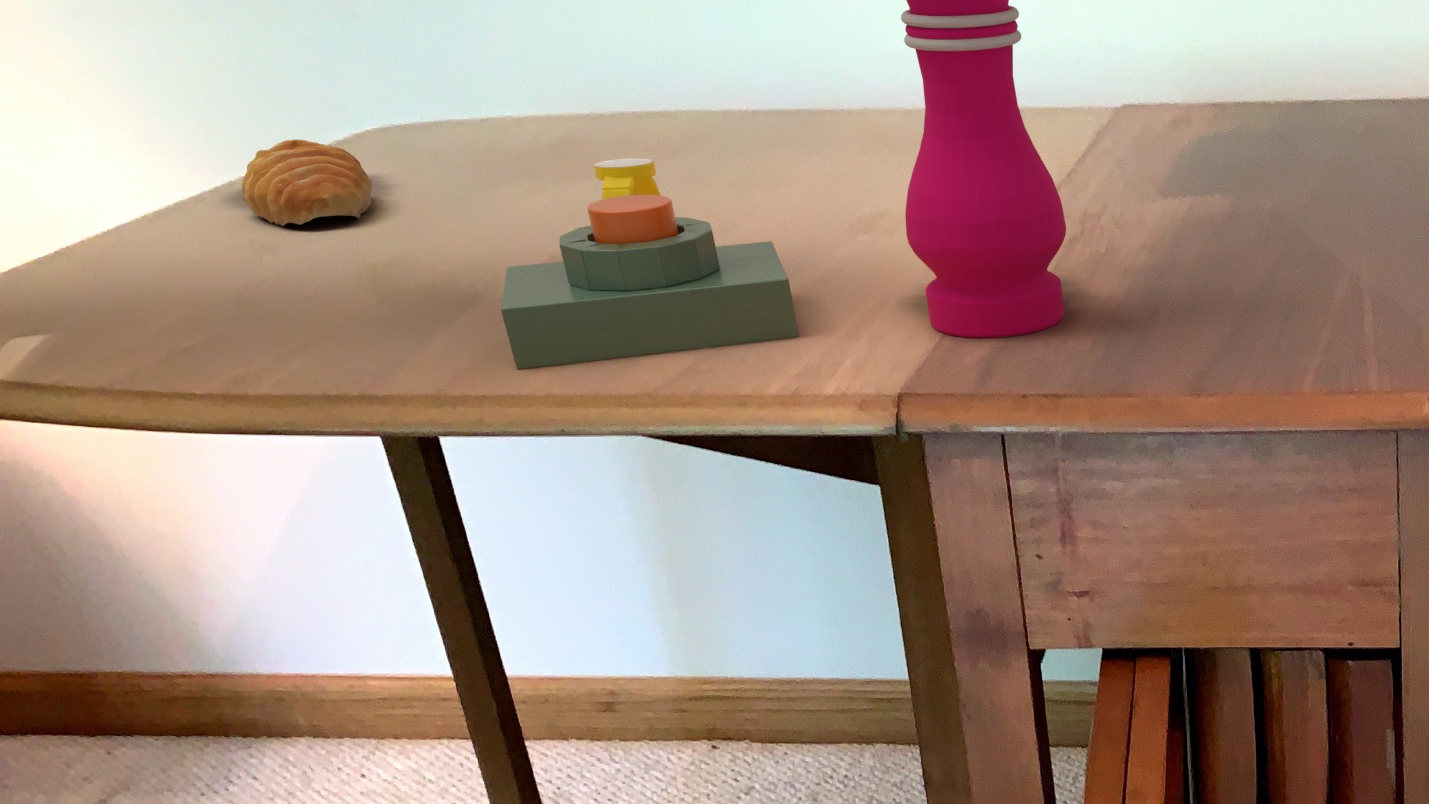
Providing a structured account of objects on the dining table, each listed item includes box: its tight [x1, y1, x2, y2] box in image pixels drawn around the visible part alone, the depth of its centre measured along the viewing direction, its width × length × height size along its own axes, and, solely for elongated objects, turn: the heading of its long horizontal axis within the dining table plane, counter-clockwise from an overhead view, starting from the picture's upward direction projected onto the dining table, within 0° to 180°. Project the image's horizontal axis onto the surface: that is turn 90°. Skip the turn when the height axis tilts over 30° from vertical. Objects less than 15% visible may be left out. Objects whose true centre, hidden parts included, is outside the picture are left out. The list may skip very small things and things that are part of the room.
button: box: [586, 195, 679, 244], centre depth 77 cm, size 4×4×2 cm
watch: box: [593, 157, 662, 200], centre depth 86 cm, size 6×3×6 cm, turn 6°
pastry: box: [241, 139, 373, 227], centre depth 101 cm, size 9×7×4 cm
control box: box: [500, 216, 800, 371], centre depth 79 cm, size 12×8×4 cm, turn 112°
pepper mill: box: [900, 0, 1067, 339], centre depth 75 cm, size 7×7×20 cm
